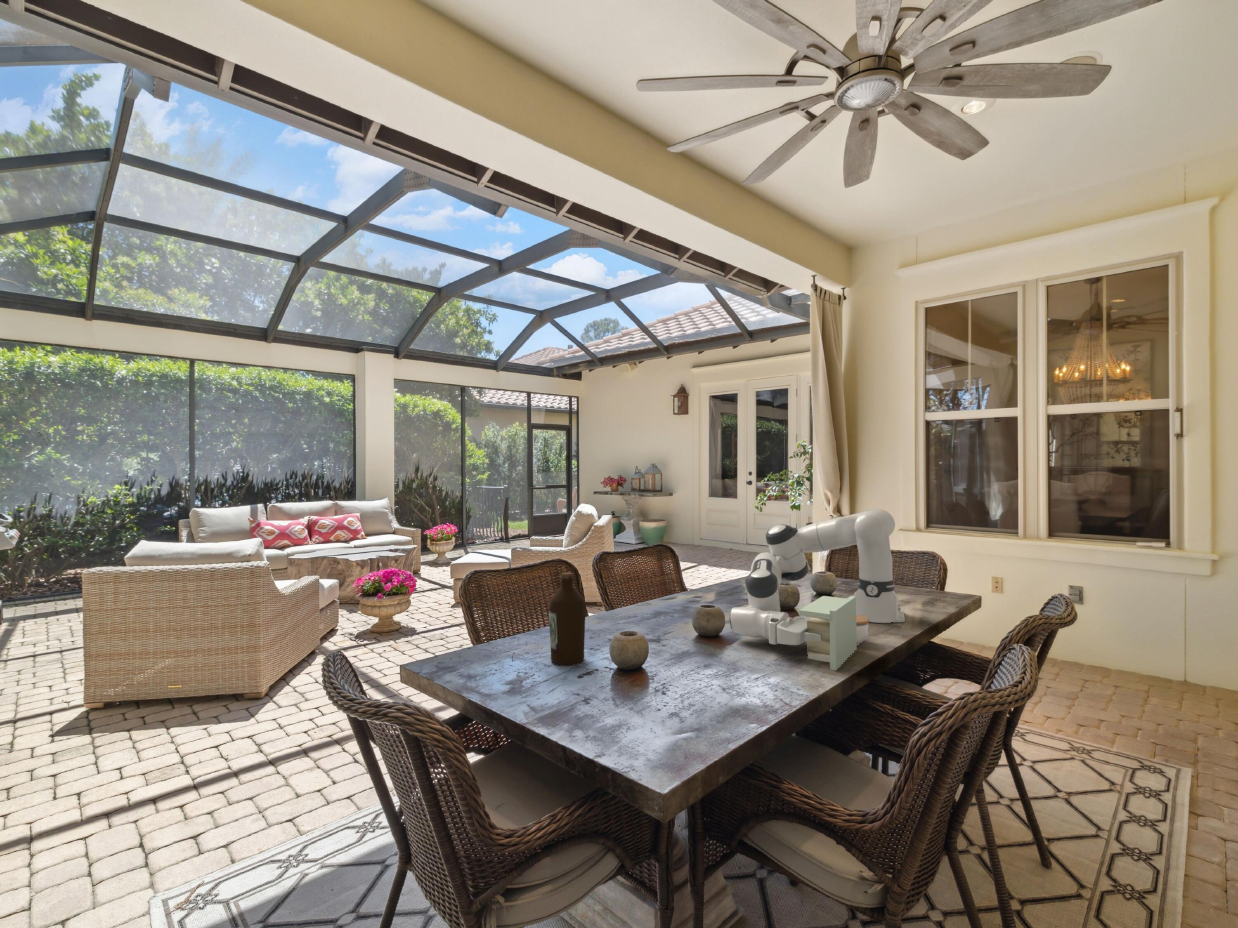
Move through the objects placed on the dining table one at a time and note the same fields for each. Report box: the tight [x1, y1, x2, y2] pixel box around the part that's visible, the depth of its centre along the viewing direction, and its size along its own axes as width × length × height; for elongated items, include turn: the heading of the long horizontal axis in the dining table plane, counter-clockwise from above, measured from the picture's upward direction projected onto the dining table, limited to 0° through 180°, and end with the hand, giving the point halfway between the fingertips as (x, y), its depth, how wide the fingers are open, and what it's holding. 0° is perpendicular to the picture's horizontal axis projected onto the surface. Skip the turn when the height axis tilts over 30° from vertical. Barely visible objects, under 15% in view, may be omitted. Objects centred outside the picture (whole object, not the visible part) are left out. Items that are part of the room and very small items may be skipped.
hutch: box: [798, 595, 858, 671], centre depth 172 cm, size 22×10×16 cm, turn 145°
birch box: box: [806, 617, 830, 655], centre depth 173 cm, size 4×8×10 cm, turn 55°
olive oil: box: [548, 571, 587, 667], centre depth 170 cm, size 11×11×25 cm
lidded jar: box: [856, 615, 870, 646], centre depth 185 cm, size 11×11×9 cm
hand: (826, 633), depth 172 cm, fingers open, 8 cm apart
